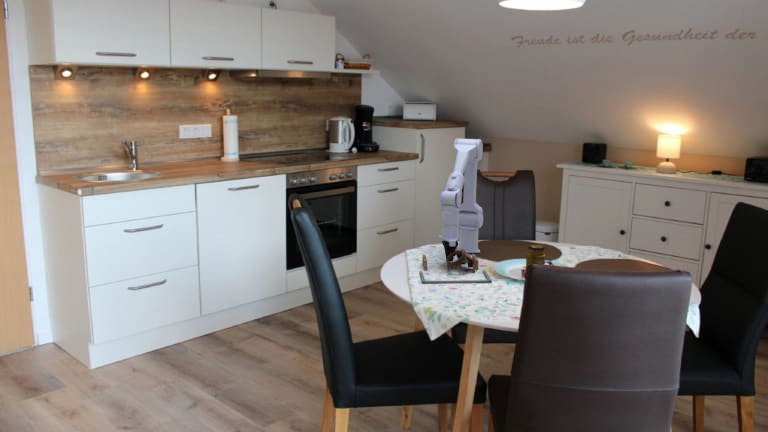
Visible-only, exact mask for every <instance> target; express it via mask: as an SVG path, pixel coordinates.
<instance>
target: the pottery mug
mask: <svg viewBox="0 0 768 432" xmlns="http://www.w3.org/2000/svg"><path fill="white" fill-rule="evenodd" d="M455 256H456V258H457V259H456V260H453V261H450V259H451V258H453V257H454V258H455ZM454 258H453V259H454ZM447 259H448V260H445V262H446V270H447V271H450V270H455V269H457V268H459V269H462V268H463V265H466V264H467V268H469V269H470V268H471V269H472V270H473V273H475V272H476V270H475V264H474V261H473V259H472V255H470V253H466V252H465V251H464V250H458V249H456V250H455V251H454V252H452V253H451V254H450V255H449V256H448V257H447Z"/></svg>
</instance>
